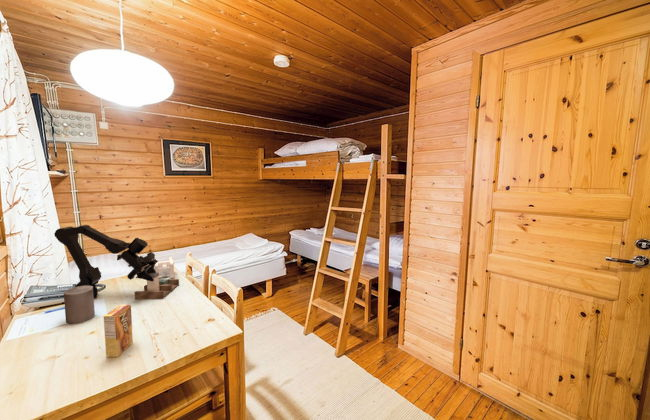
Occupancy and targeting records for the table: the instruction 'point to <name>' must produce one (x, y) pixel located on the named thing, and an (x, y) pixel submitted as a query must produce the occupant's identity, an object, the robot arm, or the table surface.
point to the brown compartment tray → (164, 290)
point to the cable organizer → (165, 268)
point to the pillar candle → (79, 304)
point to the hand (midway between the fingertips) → (155, 279)
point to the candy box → (118, 330)
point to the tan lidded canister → (153, 282)
